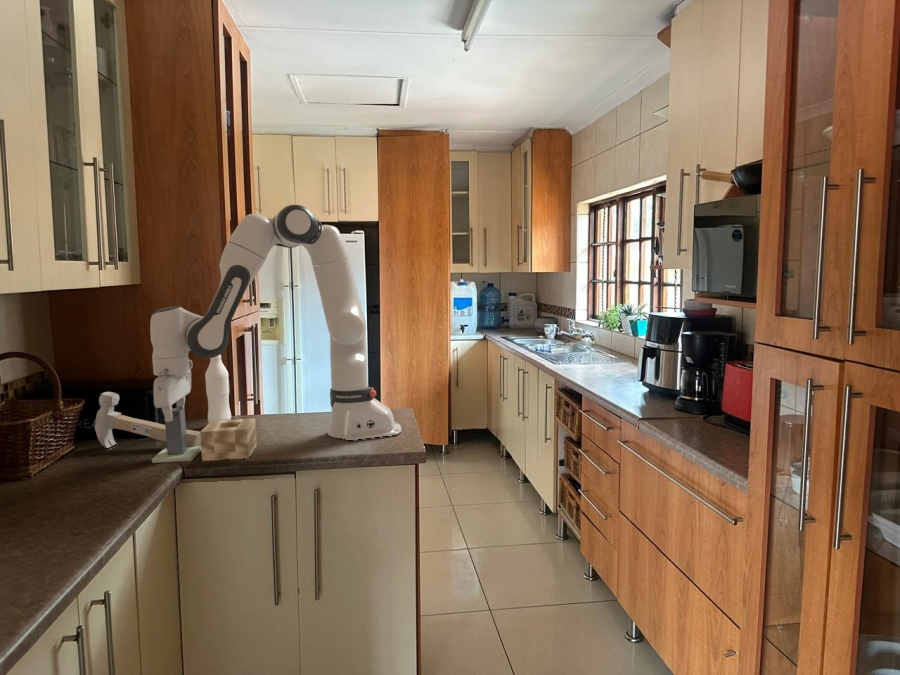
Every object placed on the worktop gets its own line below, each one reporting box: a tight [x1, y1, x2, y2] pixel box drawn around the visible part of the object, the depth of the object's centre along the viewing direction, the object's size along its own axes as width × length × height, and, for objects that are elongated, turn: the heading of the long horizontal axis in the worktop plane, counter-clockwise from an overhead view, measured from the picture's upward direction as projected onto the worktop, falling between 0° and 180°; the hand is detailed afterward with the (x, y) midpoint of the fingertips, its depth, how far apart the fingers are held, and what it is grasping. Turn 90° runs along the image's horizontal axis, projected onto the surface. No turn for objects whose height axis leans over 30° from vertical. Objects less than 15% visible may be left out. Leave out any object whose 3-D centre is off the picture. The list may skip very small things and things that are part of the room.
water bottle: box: [204, 354, 232, 424], centre depth 193 cm, size 7×7×25 cm
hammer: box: [94, 391, 201, 449], centre depth 171 cm, size 16×5×30 cm
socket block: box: [199, 418, 257, 462], centre depth 165 cm, size 12×12×8 cm
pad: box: [151, 445, 202, 464], centre depth 164 cm, size 10×10×1 cm
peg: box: [164, 407, 187, 455], centre depth 163 cm, size 4×4×12 cm
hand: (175, 416), depth 162 cm, fingers open, 8 cm apart
